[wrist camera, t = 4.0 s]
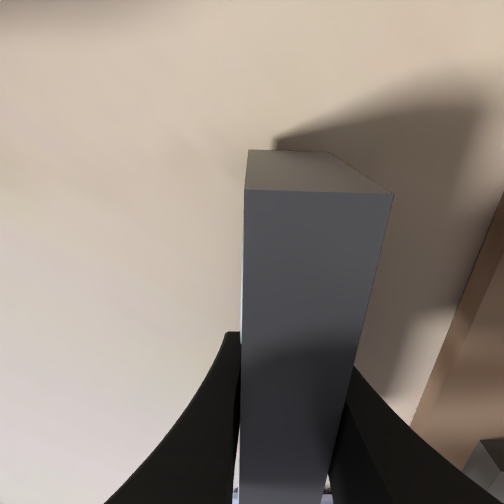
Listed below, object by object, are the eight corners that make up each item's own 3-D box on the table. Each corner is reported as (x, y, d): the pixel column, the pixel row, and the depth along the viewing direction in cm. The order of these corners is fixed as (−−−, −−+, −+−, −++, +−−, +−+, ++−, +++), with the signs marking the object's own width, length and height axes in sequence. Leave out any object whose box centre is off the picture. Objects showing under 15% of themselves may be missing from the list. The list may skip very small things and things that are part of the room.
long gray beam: (291, 434, 16) (306, 567, 11) (241, 433, 16) (236, 566, 11) (329, 152, 10) (396, 194, 5) (246, 149, 10) (241, 189, 5)
